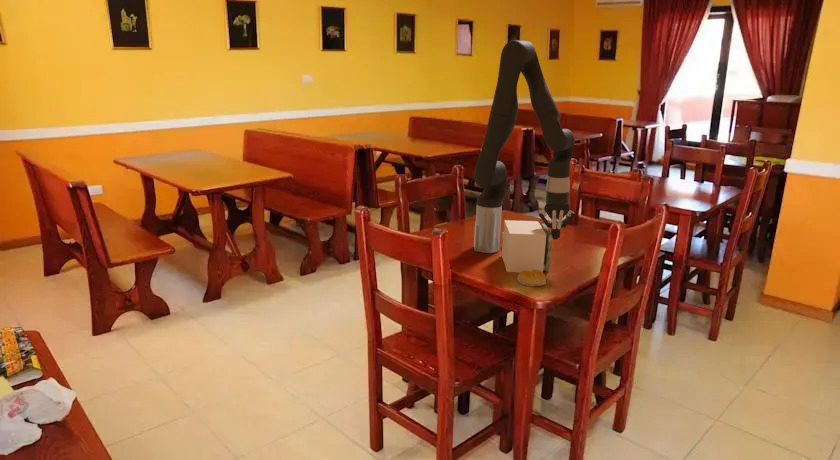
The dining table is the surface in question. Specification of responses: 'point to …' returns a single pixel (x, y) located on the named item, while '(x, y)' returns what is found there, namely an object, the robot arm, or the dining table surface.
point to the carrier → (547, 248)
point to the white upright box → (523, 246)
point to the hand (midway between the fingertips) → (555, 238)
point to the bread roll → (532, 278)
